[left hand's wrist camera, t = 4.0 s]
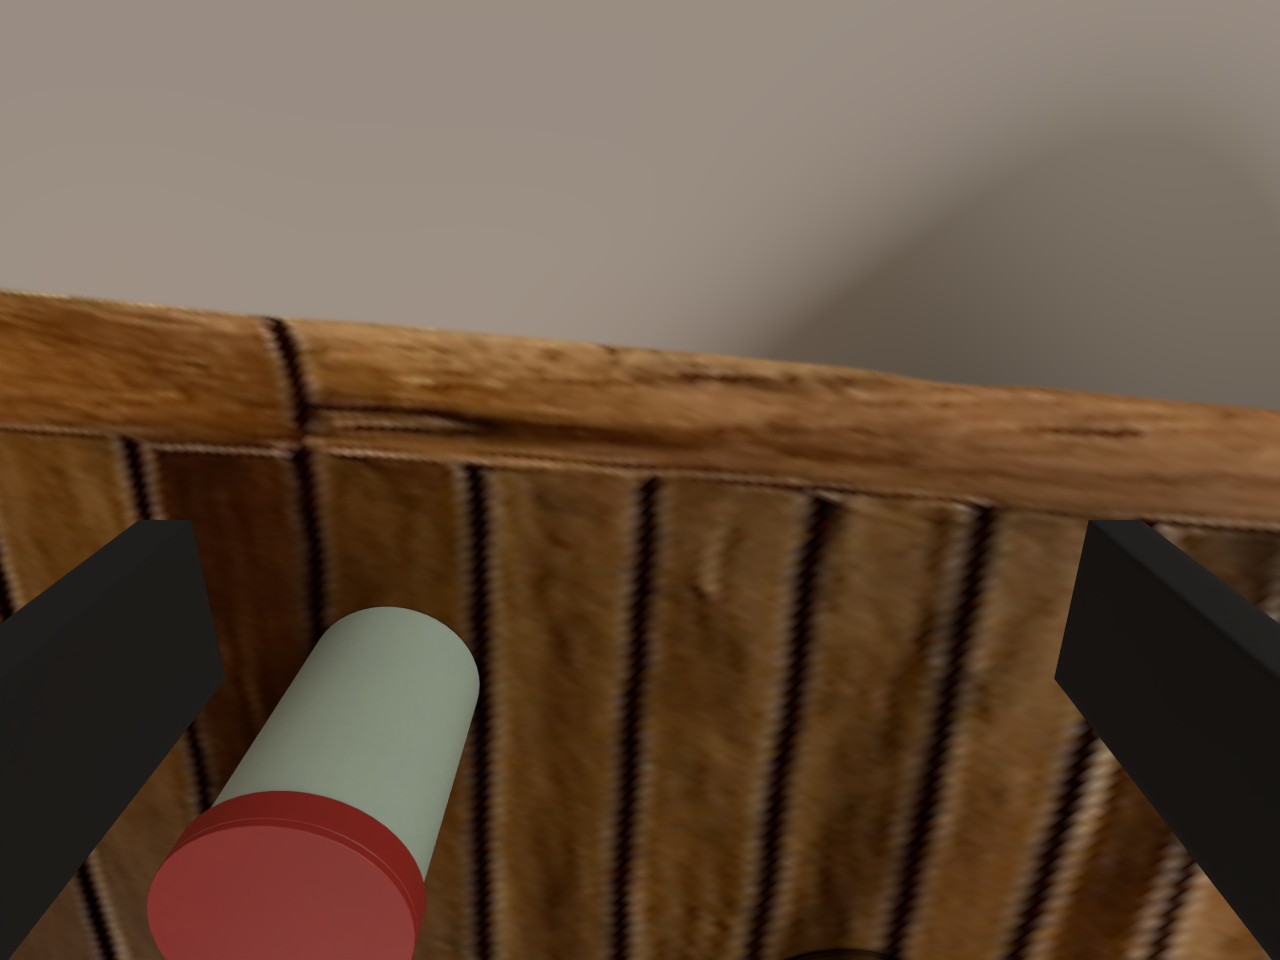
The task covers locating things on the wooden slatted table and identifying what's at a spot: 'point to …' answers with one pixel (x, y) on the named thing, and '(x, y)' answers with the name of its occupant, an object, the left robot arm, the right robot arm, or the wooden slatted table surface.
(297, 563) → the wooden slatted table surface
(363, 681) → the jar
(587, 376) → the wooden slatted table surface
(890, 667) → the wooden slatted table surface
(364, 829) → the lid
